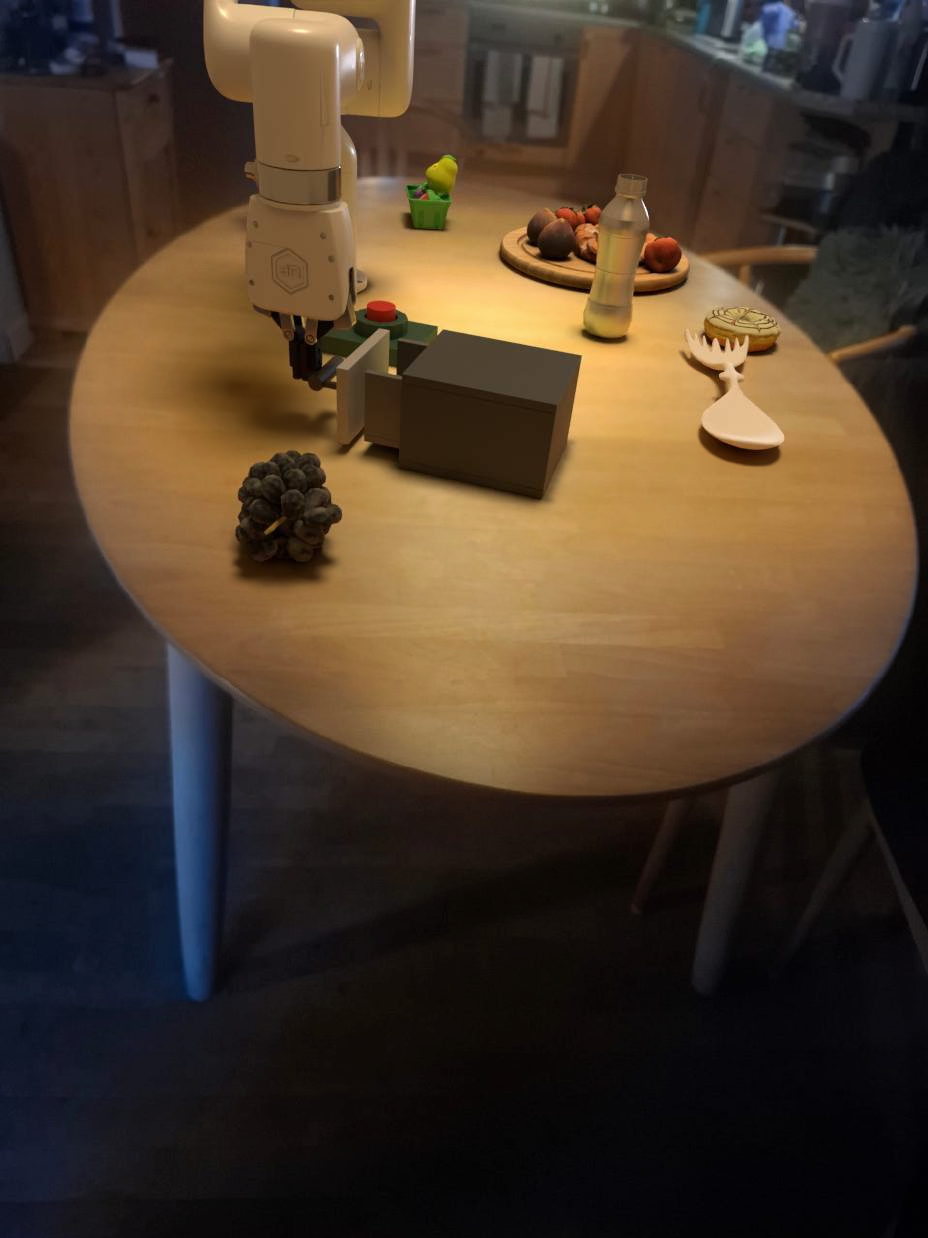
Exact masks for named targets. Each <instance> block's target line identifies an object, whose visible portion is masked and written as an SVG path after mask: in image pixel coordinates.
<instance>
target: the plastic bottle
mask: <svg viewBox="0 0 928 1238" xmlns="http://www.w3.org/2000/svg"><path fill="white" fill-rule="evenodd" d="M647 184H648V178H647V177H646V176H643V175H638V174H634V173H633V174H632V173H620V174H618V176H617V180H616V185H615V187H614V193H616V194H615V197H613V198H612V199H611V201H609V202H608V203H607V205H605V207H604V208H603V210H601V215H600V217H599V222H598V250H597V258H596V262H597V264H596V267H595V274H594V278H593V282H592V287H591V289H590V291H589V296H588V297H587V300H586V303H585V306H584V309H583V312H582V314H583V317H582V318H583V326H584V329H585V330H586V332H588V333H589V334H591V335H594V336H597V337H600V338H605V339H606V338H607V339H615V338H616V339H618V338H621V337H623V336H625V334H626V333H627V332H628V331H629V329H630V327H631V324H632V320H633V310H634V309H633V308H634V305H633V298H634V292H633V291H634V282H635V276H636V272H637V270H636V269H637V267H638V263H639V259H640V255H641V252H642V249H643V246H644V243H645V240H646V237H647V234H649V230H650V226H651V224H650V216H649V213H648V210H647V207H646V206H645V203H644V201H643V197H645V196H646V194H647Z"/></svg>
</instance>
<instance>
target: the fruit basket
mask: <svg viewBox="0 0 928 1238" xmlns="http://www.w3.org/2000/svg"><path fill="white" fill-rule="evenodd" d="M456 161H457V159H456V158H455V157H453V155H451V154H445V155H443V156H442V157H440V160H439V161H438V162H436V163H434V164H432V165H431V166H429V167H428V168H427V169H426V171H425V176H426V180H427V181H426V182H424V181H422V182H421V184H405V190H406V195H407V199H408V204H409V210H410V215H411V220H412V224H413V227H414V229H424V230H443V229H444V226H445V223H446V218H447V215H448V212H449V209H450V207H451V204H452V201H453V200H452V198H451V195H450V193H452V191H453V190H454V188H455V185H456V178H457V174H458V171H459V170H458V169H459V168H458V164H457V163H456Z"/></svg>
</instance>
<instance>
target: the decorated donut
mask: <svg viewBox="0 0 928 1238" xmlns="http://www.w3.org/2000/svg"><path fill="white" fill-rule="evenodd" d="M703 329H704V333H705V334H706V336H707V338H708V339H710V341H711V342H713V340H714V339H715V338H716V339H717V340H718V342H719V345H720V347H724V348H725V344H726V339H727V338H728V339H729V343H730V348H731V351H733V350H734V344H735V339H736V337H737V338H738V341H739V345H740V347H741V346H743V343H744V339H745V336H746V335H748V337H749V347H748V351H747V353H752V352H760V351H765V350H767V349H769V348H770V347H772V346H773V345H774V344H775V343H776V341H777V340H778V338H780V335H781V334H782V329H781V326H780V323H779V322H778V321H777V320H776V319H775V318H774V317H773V316H771V315H770V314H767V313H764V312H762V311H761V310H758V309H754V308H753V307H748V306H721V307H718V308H714V309H711V310H709V311H708V312H707V313H706V314H705V318H704V320H703Z"/></svg>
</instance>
